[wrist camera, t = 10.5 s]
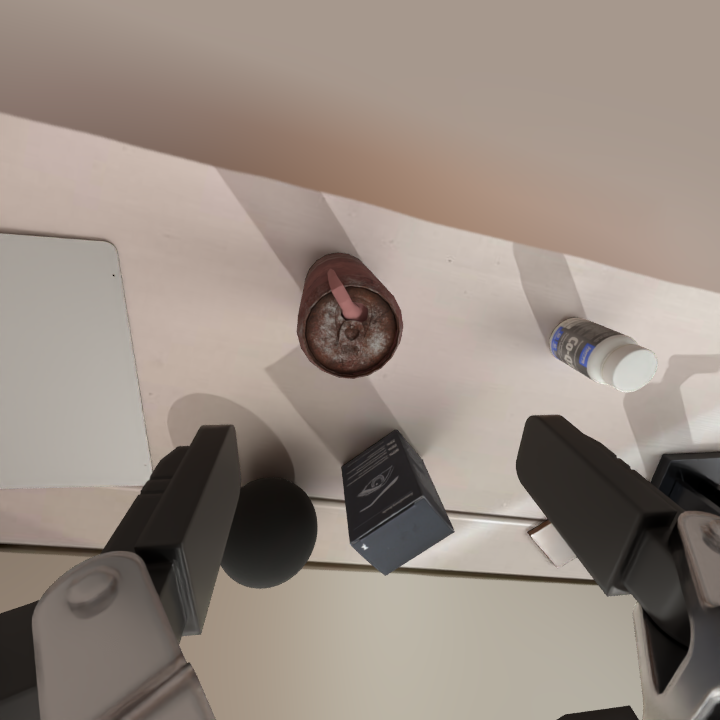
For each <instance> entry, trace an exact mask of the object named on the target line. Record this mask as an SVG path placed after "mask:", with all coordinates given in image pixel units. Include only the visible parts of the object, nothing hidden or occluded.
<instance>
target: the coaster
mask: <svg viewBox="0 0 720 720" xmlns="http://www.w3.org/2000/svg"><path fill="white" fill-rule="evenodd" d="M528 534H529V535H530V537H531V538H532V539H533V540H534V541H535V543H536V544H537V545H538V546H539V547H540V548H541V550H542V551H543V552H544V553H545V554H546V556H547V557H548V558H549V559H550V560H551V562H552V563H553V564H554V565H555V566H556V567H557V568H560V567H561V566H563V565H565V564H566V563H568V562H570V561H571V560H573V559H575V558H577V556H576V555H575V554H574V552H573V551H572V550H571V548H570V547H569V546H568V544H567V543H566V542H565V540H564V539H563V538H562V536H561V535H560V534H559V533H558V531H557V530H556V529H555V527H554V526H553V525H552V523H551V522H550V521H549V520H547V521H545V522H544V523H542V524H540V525H539V526H537V527H536V528H534V529H532V530H531V531H529V532H528Z"/></svg>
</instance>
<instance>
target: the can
mask: <svg viewBox="0 0 720 720" xmlns="http://www.w3.org/2000/svg"><path fill="white" fill-rule="evenodd" d="M402 330H403V322H402V314H401V310H400V308H399V306H398V304H397V302H396V300H395V298H394V296H393V295H392V294H391V293H390V292H389V291H388V290H387V288H386V287H385V286H384V285H383V284H382V283H381V282H380V281H379V280H378V279H377V278H376V277H375V276H374V274H373V273H372V272H371V271H370V270H369V269H368V268H367V267H366V266H365V265H364V264H363V263H362V262H361V261H360V260H359V259H357V258H355V257H353V256H351V255H349V254H344V253H333V254H328V255H326V256H324V257H322V258H320V259H319V260H317V261H316V262H315V263H314V264H313V266H312V267H311V268H310V269H309V272H308V274H307V277H306V279H305V284H304V289H303V294H302V299H301V304H300V309H299V314H298V324H297V335H298V338H299V342H300V346H301V349H302V350H303V352H304V353H305V355H306V356H307V358H308V359H309V361H310V362H312V363H313V364H314V365H315V366H317V367H318V368H319V369H320V370H322V371H324V372H326V373H329V374H331V375H334V376H336V377H339V378H352V379H354V378H359V377H364V376H368V375H370V374H372V373H374V372H376V371H377V370H379V369H381V368H382V367H383V366H384V365H385V364H386V363H387V362H388V361H389V360H390V359H391V358H392V356H393V355H394V353H395V351H396V349H397V347H398V345H399V344H400V341H401V336H402Z"/></svg>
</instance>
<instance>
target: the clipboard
mask: <svg viewBox="0 0 720 720" xmlns="http://www.w3.org/2000/svg"><path fill="white" fill-rule="evenodd" d="M113 274H114V275H115V277H114V276H113ZM145 464H146V465H145ZM152 473H153V471H152V465H151V459H150V453H149V446H148V440H147V434H146V428H145V421H144V415H143V409H142V403H141V396H140V390H139V384H138V378H137V371H136V365H135V359H134V353H133V346H132V340H131V334H130V328H129V322H128V315H127V309H126V303H125V297H124V290H123V284H122V278H121V272H120V265H119V259H118V253H117V250H116V248H115V247H114V245H112V244H111V243H109V242H105V241H93V240H81V239H68V238H55V237H42V236H29V235H16V234H3V233H0V489H19V488H64V487H109V486H144V485H145V484H146V482H147V481H148V480H150V476H151V474H152Z"/></svg>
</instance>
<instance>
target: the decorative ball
mask: <svg viewBox="0 0 720 720" xmlns="http://www.w3.org/2000/svg"><path fill="white" fill-rule="evenodd" d="M316 537H317V517H316V512H315V509H314V506H313V504H312V502H311V500H310V499H309V497H308V496H307V494H306V493H305V492H304V491H303V490H302V489H301V488H300V487H298V486H297V485H295V484H294V483H292V482H290V481H287V480H284V479H280V478H263V479H258V480H255V481H253V482H250V483H248V484H246V485H245V486H243V487H242V488H240V495H239V499H238V503H237V507H236V510H235V514H234V517H233V521H232V525H231V528H230V532H229V535H228V539H227V543H226V546H225V550H224V553H223V557H222V561H221V564H220V565H221V566H222V568H223V570H224V571H225V572H226V573H227V574H228V576H230V577H231V578H232V579H233V580H234V581H236V582H238V583H239V584H241V585H244V586H247V587H251V588H260V589H261V588H270V587H274V586H277V585H280V584H282V583H284V582H286V581H287V580H289V579H290V578H292V577H293V576H294V575H296V574H297V573H298V571H300V570H301V569H302V567H303V566H304V565H305V564H306V562H307V560H308V559H309V557H310V555H311V553H312V551H313V548H314V545H315V542H316Z"/></svg>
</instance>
